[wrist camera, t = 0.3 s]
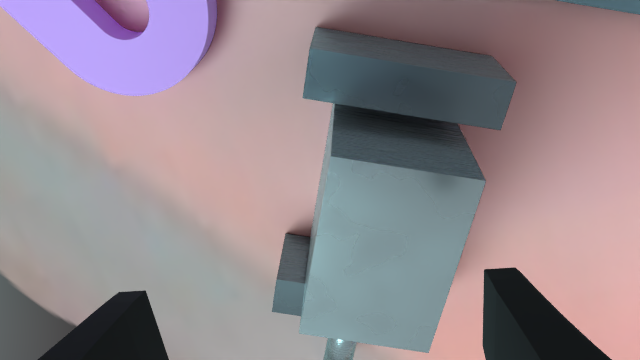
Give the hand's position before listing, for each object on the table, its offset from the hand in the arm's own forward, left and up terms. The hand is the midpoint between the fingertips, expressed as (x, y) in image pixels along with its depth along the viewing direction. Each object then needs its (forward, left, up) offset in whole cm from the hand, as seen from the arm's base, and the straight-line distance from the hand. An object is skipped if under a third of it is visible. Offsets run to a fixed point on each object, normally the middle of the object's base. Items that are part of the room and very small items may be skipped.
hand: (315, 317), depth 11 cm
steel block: (-2, +1, -10) cm, 10 cm away
